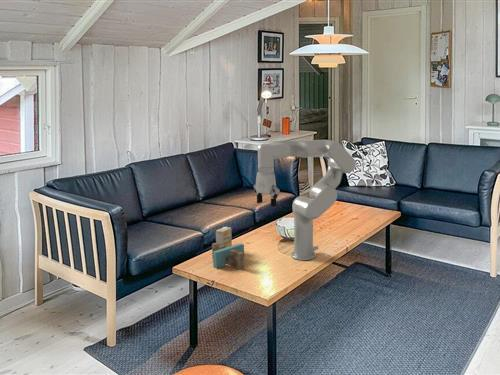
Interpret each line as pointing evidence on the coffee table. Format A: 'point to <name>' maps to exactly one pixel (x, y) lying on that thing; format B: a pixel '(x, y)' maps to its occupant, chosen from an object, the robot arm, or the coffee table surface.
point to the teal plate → (225, 254)
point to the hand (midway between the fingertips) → (266, 204)
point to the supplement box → (224, 236)
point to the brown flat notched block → (231, 256)
